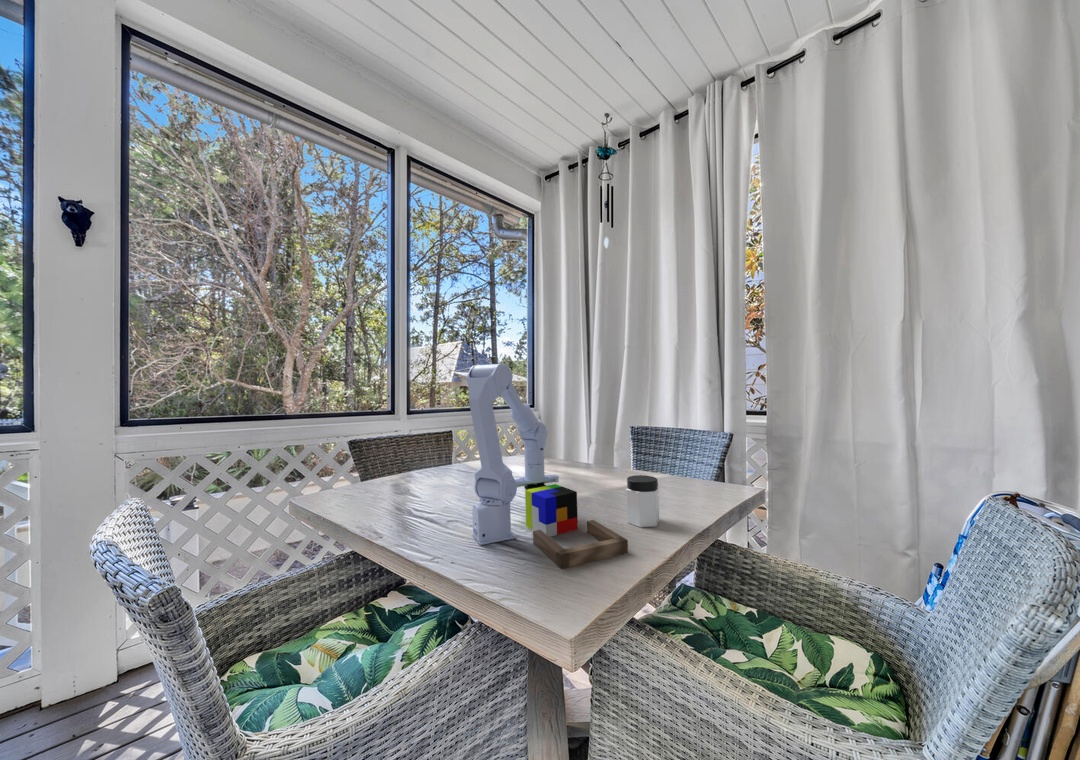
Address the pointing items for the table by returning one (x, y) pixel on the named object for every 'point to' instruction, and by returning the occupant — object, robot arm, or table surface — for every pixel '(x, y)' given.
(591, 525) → the walnut frame
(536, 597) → the table surface
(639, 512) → the jar
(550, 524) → the puzzle toy
